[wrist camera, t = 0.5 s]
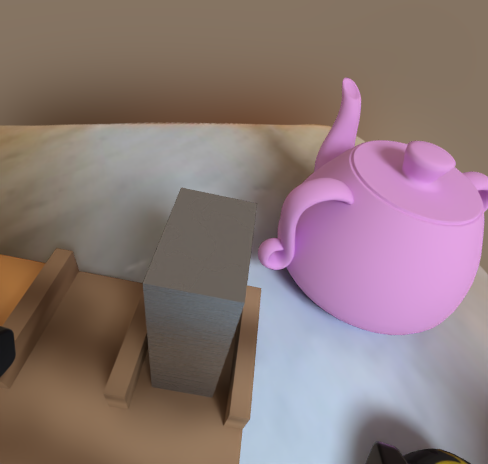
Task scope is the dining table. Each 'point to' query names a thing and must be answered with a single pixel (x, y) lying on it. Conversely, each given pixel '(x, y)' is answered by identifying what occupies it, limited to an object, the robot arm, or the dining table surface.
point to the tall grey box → (197, 290)
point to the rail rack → (107, 375)
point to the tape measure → (433, 457)
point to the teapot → (381, 229)
